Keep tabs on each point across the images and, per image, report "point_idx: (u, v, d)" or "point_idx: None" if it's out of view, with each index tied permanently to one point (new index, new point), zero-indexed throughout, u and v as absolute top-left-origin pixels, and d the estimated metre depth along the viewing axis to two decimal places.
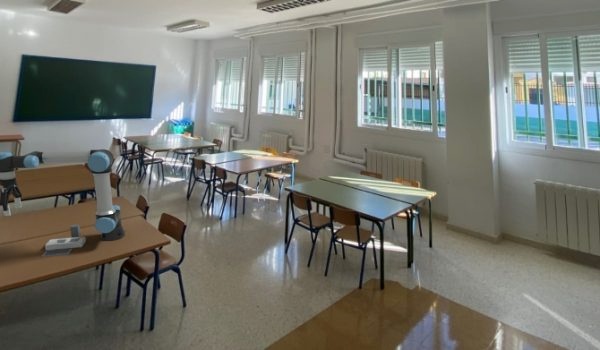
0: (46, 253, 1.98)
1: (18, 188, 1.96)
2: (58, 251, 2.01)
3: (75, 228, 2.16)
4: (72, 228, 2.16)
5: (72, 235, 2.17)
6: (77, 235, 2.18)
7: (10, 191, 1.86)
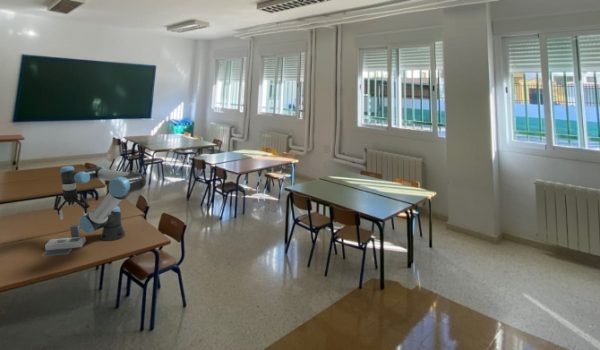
0: (46, 253, 1.98)
1: (83, 201, 2.15)
2: (58, 251, 2.01)
3: (75, 228, 2.16)
4: (72, 228, 2.16)
5: (72, 235, 2.17)
6: (77, 235, 2.18)
7: (65, 200, 2.11)
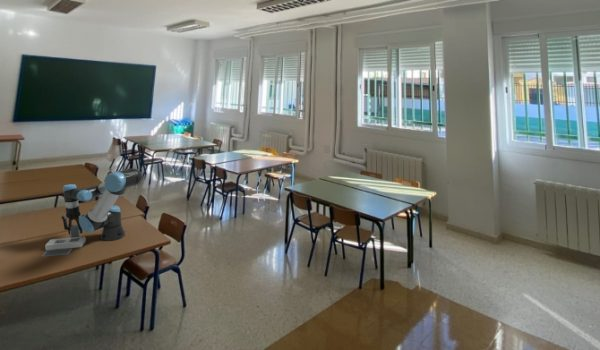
0: (46, 253, 1.98)
1: None
2: (58, 251, 2.01)
3: (75, 228, 2.16)
4: (72, 228, 2.16)
5: (72, 235, 2.17)
6: (77, 235, 2.18)
7: (69, 219, 2.14)
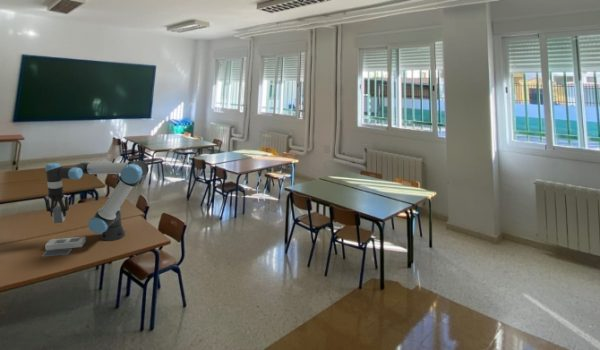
0: (46, 253, 1.98)
1: (66, 202, 2.04)
2: (58, 251, 2.01)
3: (58, 210, 2.04)
4: (54, 210, 2.03)
5: (54, 217, 2.04)
6: (60, 218, 2.05)
7: (51, 200, 2.01)
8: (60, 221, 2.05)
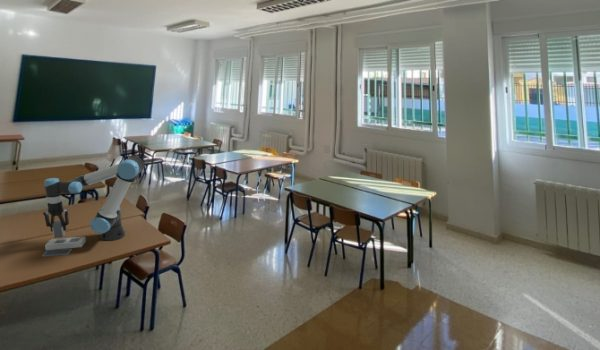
0: (46, 253, 1.98)
1: (66, 217, 2.05)
2: (58, 251, 2.01)
3: (58, 225, 2.04)
4: (55, 225, 2.03)
5: (55, 232, 2.04)
6: (60, 232, 2.05)
7: (51, 215, 2.01)
8: (60, 236, 2.06)
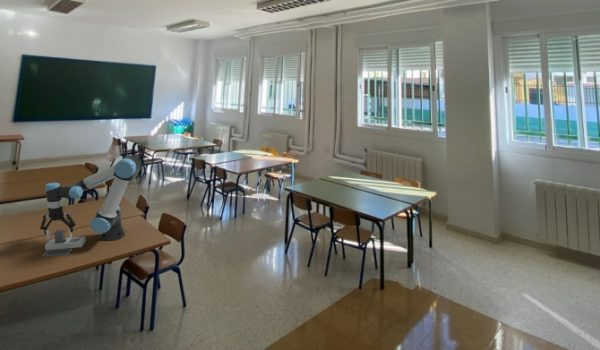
0: (46, 253, 1.98)
1: (69, 219, 2.06)
2: (58, 251, 2.01)
3: (59, 234, 2.05)
4: (56, 234, 2.05)
5: (56, 241, 2.06)
6: (61, 241, 2.07)
7: (50, 219, 2.02)
8: None
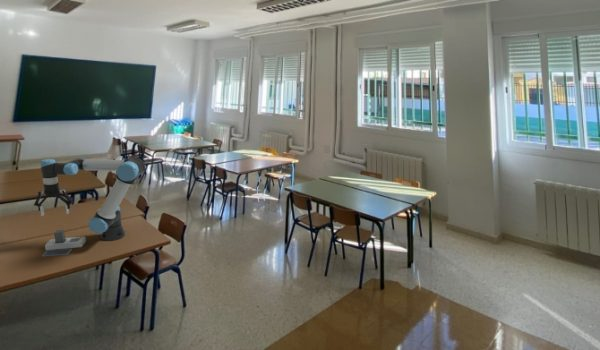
0: (46, 253, 1.98)
1: (66, 196, 2.04)
2: (58, 251, 2.01)
3: (59, 234, 2.05)
4: (56, 234, 2.05)
5: (56, 241, 2.06)
6: (61, 241, 2.07)
7: (46, 195, 2.00)
8: None
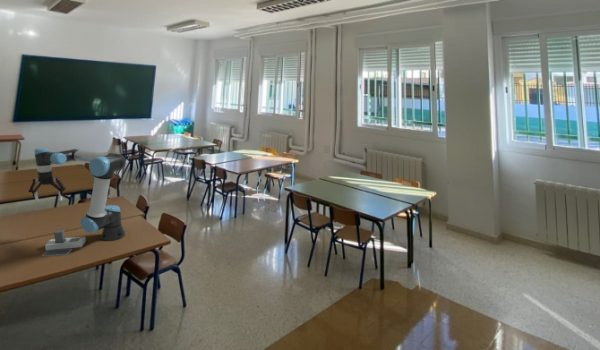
0: (46, 253, 1.98)
1: (59, 183, 2.14)
2: (58, 251, 2.01)
3: (59, 234, 2.05)
4: (56, 234, 2.05)
5: (56, 241, 2.06)
6: (61, 241, 2.07)
7: (40, 182, 2.09)
8: None
